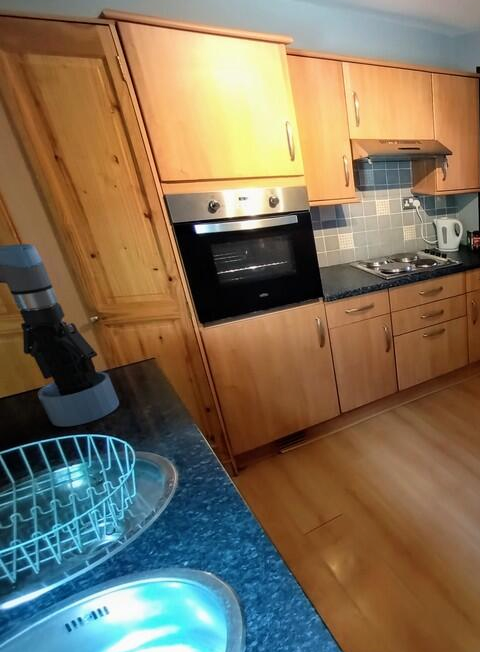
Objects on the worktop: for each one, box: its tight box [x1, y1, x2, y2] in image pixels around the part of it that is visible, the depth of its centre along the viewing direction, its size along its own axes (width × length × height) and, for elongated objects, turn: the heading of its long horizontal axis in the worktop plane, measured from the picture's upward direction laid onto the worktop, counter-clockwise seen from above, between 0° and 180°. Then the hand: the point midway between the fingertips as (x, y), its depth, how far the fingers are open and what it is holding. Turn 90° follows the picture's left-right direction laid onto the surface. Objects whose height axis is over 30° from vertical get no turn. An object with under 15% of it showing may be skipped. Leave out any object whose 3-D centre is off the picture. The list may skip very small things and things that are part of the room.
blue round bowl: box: [37, 371, 120, 427], centre depth 126 cm, size 15×15×9 cm
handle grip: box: [30, 321, 93, 396], centre depth 122 cm, size 10×26×10 cm
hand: (71, 378), depth 124 cm, fingers open, 13 cm apart
